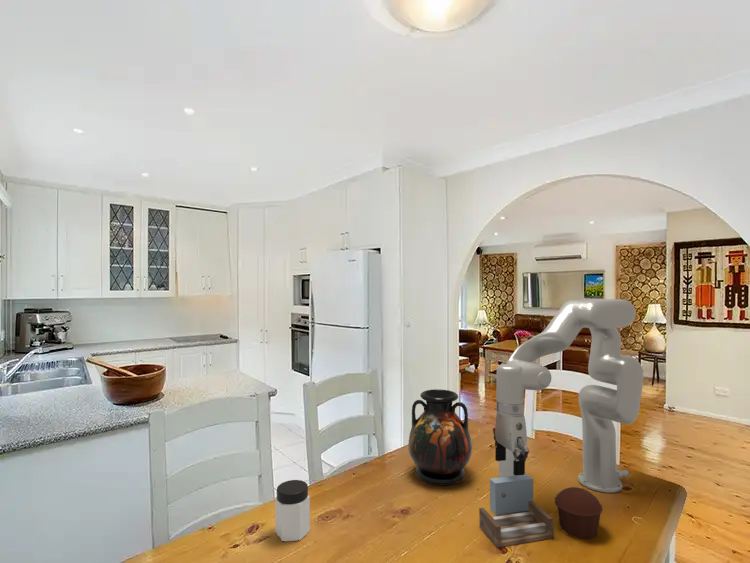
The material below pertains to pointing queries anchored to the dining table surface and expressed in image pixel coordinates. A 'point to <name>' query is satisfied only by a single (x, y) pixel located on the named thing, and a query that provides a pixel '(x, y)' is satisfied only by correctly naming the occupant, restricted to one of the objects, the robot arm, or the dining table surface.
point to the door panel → (510, 494)
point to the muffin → (578, 512)
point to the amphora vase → (440, 438)
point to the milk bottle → (507, 464)
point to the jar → (292, 510)
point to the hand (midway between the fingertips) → (509, 467)
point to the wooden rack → (517, 526)
